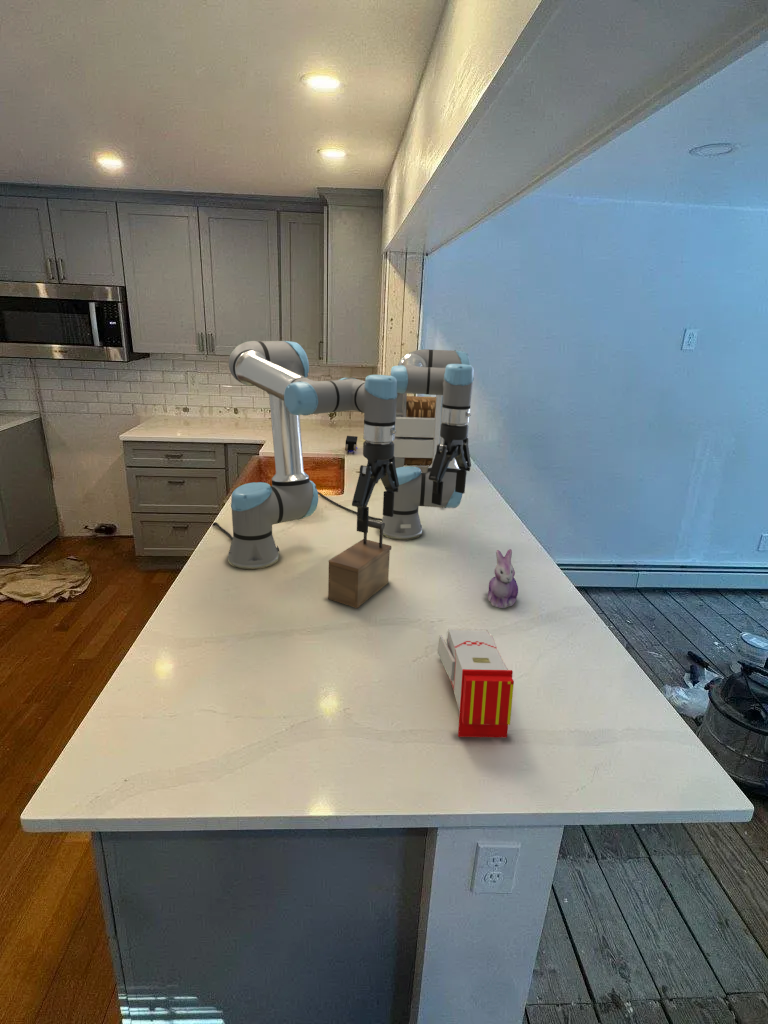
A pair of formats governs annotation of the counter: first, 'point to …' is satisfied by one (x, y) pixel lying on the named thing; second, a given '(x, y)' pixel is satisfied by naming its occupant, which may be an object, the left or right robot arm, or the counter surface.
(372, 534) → the counter surface
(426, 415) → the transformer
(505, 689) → the toy
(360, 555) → the brown handled panel
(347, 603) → the chest
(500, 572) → the figurine
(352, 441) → the figurine character
